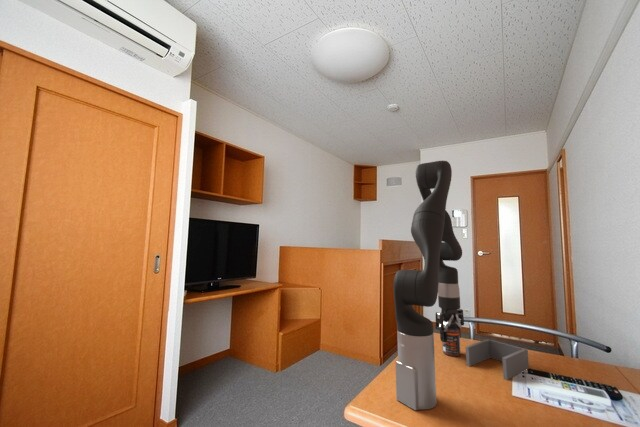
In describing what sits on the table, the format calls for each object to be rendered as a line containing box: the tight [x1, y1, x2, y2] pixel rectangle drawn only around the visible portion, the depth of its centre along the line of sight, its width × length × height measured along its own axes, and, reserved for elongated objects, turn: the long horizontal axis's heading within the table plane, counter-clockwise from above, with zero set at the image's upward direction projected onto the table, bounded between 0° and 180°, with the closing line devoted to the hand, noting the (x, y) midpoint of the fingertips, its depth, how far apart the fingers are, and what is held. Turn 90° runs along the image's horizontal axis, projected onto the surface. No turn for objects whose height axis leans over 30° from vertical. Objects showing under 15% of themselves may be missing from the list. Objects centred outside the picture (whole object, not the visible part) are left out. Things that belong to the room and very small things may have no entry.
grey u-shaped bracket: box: [465, 338, 530, 381], centre depth 95 cm, size 15×12×6 cm
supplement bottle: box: [442, 323, 461, 357], centre depth 106 cm, size 6×6×11 cm
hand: (450, 339), depth 106 cm, fingers open, 8 cm apart
